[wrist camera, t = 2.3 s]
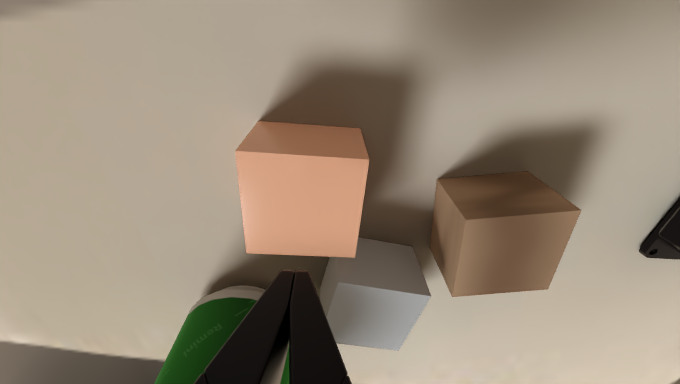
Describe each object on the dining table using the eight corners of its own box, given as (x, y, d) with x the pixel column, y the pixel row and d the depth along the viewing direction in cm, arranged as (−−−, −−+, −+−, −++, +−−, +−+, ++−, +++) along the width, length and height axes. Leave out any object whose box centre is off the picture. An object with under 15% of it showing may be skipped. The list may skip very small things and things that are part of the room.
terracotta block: (359, 127, 14) (369, 159, 11) (349, 210, 17) (354, 257, 13) (258, 120, 14) (235, 150, 10) (264, 205, 16) (246, 253, 13)
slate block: (412, 245, 18) (431, 296, 15) (387, 296, 21) (398, 350, 17) (336, 231, 17) (338, 282, 14) (320, 286, 20) (318, 341, 16)
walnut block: (525, 170, 16) (581, 210, 12) (506, 239, 18) (547, 289, 15) (436, 177, 16) (465, 219, 12) (429, 246, 18) (452, 296, 15)
